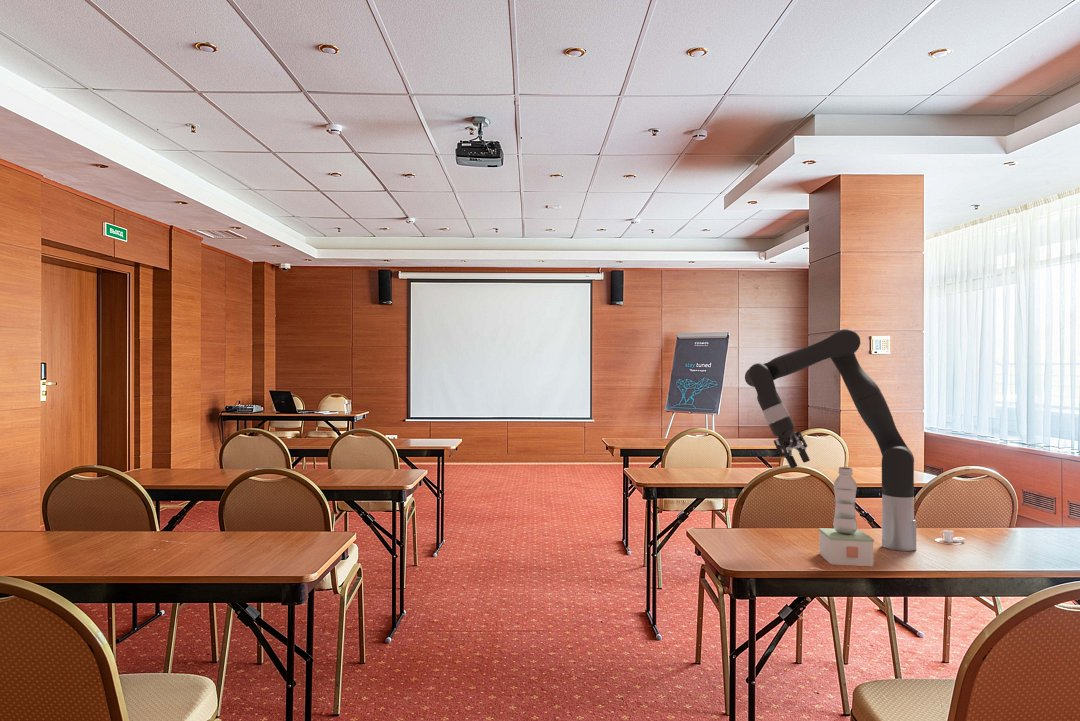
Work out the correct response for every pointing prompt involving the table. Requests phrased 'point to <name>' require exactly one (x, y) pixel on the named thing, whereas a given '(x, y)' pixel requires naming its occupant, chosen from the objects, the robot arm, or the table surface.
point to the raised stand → (846, 547)
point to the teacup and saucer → (950, 537)
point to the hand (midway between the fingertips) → (800, 464)
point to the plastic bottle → (845, 502)
